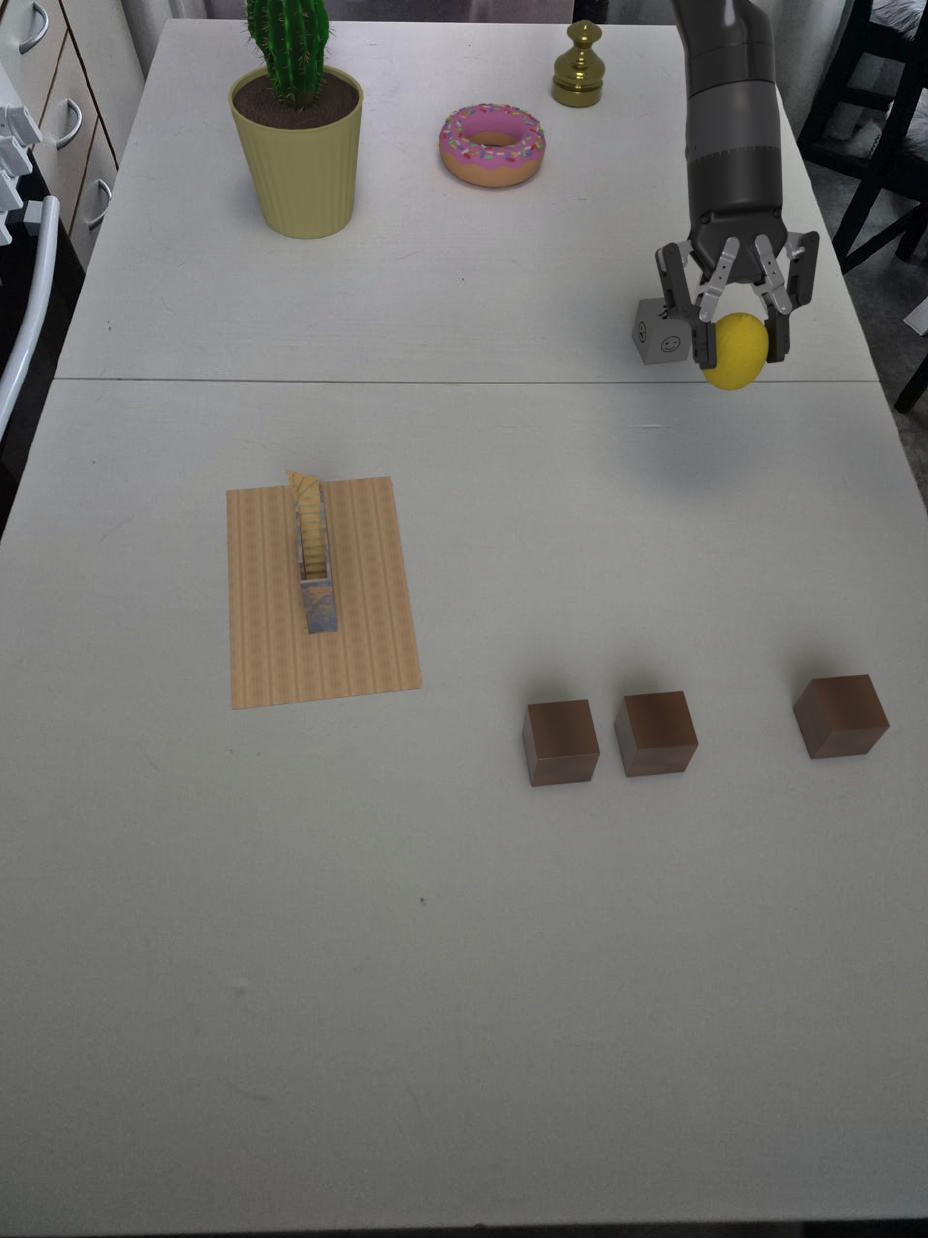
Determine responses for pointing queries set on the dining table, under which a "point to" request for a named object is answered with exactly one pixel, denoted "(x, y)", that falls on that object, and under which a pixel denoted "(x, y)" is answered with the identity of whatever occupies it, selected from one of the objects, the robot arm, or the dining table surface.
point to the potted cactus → (298, 120)
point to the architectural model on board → (317, 593)
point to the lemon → (738, 351)
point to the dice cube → (660, 333)
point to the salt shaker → (579, 68)
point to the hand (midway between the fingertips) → (742, 364)
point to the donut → (492, 127)
